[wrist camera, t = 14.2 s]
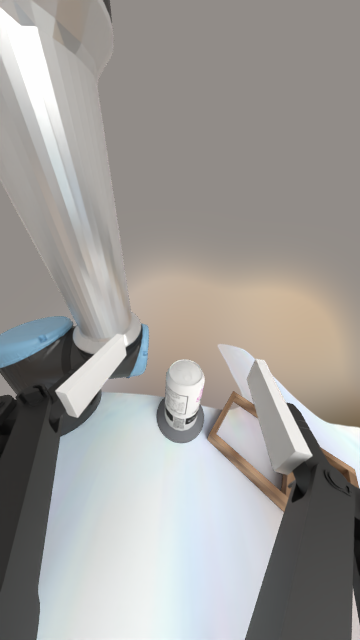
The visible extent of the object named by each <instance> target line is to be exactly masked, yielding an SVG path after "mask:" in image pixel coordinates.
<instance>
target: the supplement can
mask: <svg viewBox="0 0 360 640" xmlns="http://www.w3.org/2000/svg"><path fill="white" fill-rule="evenodd" d="M204 382H205V378H204V374H203V372H202V369H201V367H200V366H199V365H198V364H197V363H195V362H193V361H191V360H186V359H184V360H178V361H176V362H174V363H173V364H172V365H171V367H170V368H169V369H168V372H167V373H166V393H165V394H166V395H165V418H166V421H167V422H168V424H169V425H170V426H171V427H172V428H174V429H175V430H179V431H184V430H188V429H189V428H191V427H192V426H193V425H194V423H195V422H196V419H197V414H198V409H199V405H200V400H201V396H202V391H203V386H204Z"/></svg>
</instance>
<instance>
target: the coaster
mask: <svg viewBox="0 0 360 640" xmlns="http://www.w3.org/2000/svg"><path fill="white" fill-rule="evenodd" d="M157 422H158V426H159V428H160V430H161V432H162V433H163V435H164V436H165V437H166V438H168V439H169V440H171V441H173V442H176V443H186V442H189V441H191V440H193V439H195V438H196V437H197V436H198V435H199V433H200V432H201V430H202V427H203V423H204V413H203V409H202V407H201V405H199V409H198V414H197V419H196V422H195V423H194V425H193V426H192V427H191V428H189V429H188V430H184V431H179V430H175V429H174V428H172V427H171V426H170V425H169V424H168V422H167V421H166V418H165V398H164V399H163V400H162V401H161V403H160V405H159V407H158V411H157Z"/></svg>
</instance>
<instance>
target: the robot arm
mask: <svg viewBox="0 0 360 640" xmlns="http://www.w3.org/2000/svg"><path fill="white" fill-rule="evenodd" d="M113 45H114V38H113V30H112V19H111V9H110V0H0V181H1V183H2V185H3V187H4V189H5V191H6V192H7V194H8V196H9V198H10V200H11V202H12V204H13V205H14V207H15V209H16V211H17V213H18V215H19V217H20V219H21V221H22V222H23V224H24V226H25V228H26V230H27V232H28V233H29V235H30V237H31V239H32V241H33V243H34V245H35V247H36V249H37V250H38V252H39V254H40V256H41V258H42V259H43V262H44V263H45V265H46V267H47V269H48V271H49V273H50V275H51V276H52V278H53V280H54V282H55V284H56V286H57V288H58V290H59V291H60V293H61V295H62V297H63V299H64V301H65V303H66V305H67V307H68V308H69V310H70V312H71V314H72V315H73V318H74V320H75V321H76V323H77V326H73V322H72V321H71V320H70V319H69V318H67V317H63V316H54V317H47V318H43V319H38V320H34V321H31V322H27V323H24V324H21V325H19V326H16V327H14V328H12V329H10V330H7V331H6V332H4V333H2V334H0V373H1V375H2V376H3V377H4V378H5V380H6V381H7V382H8V384H9V385H10V386H11V388H12V389H13V390H14V391H15V393H16V394H17V396H16V400H14V398H13V397H12V396H10V395H4V396H0V640H36V639H37V632H38V624H39V614H40V602H39V596H38V583H39V576H40V569H41V563H42V556H43V549H44V542H45V535H46V529H47V522H48V515H49V508H50V502H51V495H52V488H53V481H54V475H55V468H56V461H57V454H58V447H59V441H60V436H62V435H64V434H67V433H69V432H70V431H72V430H74V429H75V428H77V427H78V426H80V425H81V424H82V423H83V422H85V421H86V420H87V419H88V418H89V417H90V416H91V414H92V413H93V412H94V411H95V409H96V408H97V406H98V404H99V402H100V399H101V387H102V386H103V385H104V383H105V382H106V381H107V380H108V379H113V378H123V377H126V378H130V377H132V376H137V375H141V374H143V373H144V371H145V369H146V365H147V356H148V353H147V352H148V344H149V343H148V342H149V330H148V326H147V325H145V324H141V322H140V319H139V318H138V317H137V316H136V314H134V313H133V312H131V308H130V301H129V295H128V289H127V282H126V275H125V268H124V261H123V255H122V248H121V241H120V235H119V228H118V222H117V215H116V209H115V201H114V195H113V188H112V183H111V175H110V168H109V162H108V155H107V148H106V142H105V135H104V128H103V122H102V115H101V109H100V102H99V95H98V89H97V85H98V80H99V76H100V74H101V73H102V71H103V69H104V68H105V66H106V64H107V62H108V61H109V59H110V58H111V56H112V54H113ZM247 382H248V385H249V389H250V392H251V396H252V399H253V402H254V406H255V409H256V413H257V416H258V419H259V423H260V426H261V430H262V433H263V437H264V440H265V443H266V447H267V450H268V454H269V457H270V460H271V464H272V467H273V471H274V472H278V473H282V474H285V475H288V474H290V473H291V472H293V474H294V477H295V480H294V481H292V482H291V483H290V484H289V485H288V486H287V487H288V488H289V489H290V488H291V487H292V488H291V492H290V495H289V498H288V501H287V505H286V508H285V511H284V514H283V518H282V521H281V524H280V527H279V531H278V534H277V537H276V540H275V544H274V547H273V550H272V553H271V556H270V560H269V563H268V566H267V569H266V573H265V576H264V579H263V582H262V586H261V589H260V592H259V595H258V599H257V602H256V605H255V608H254V612H253V615H252V618H251V621H250V625H249V628H248V631H247V634H246V638H245V640H351V634H352V595H353V589H354V595H355V601H356V606H357V612H358V617H359V623H360V489H359V488H358V487H356V486H354V485H352V484H351V483H349V482H348V481H347V480H346V478H345V477H344V476H343V475H342V474H341V473H340V472H339V471H338V470H337V469H336V468H334V467H333V466H331V465H330V463H329V462H328V460H327V458H326V457H325V455H324V453H323V451H322V450H321V448H320V446H319V444H318V443H317V441H316V439H315V437H314V435H313V434H312V432H311V430H310V428H309V427H308V425H307V423H306V422H305V419H304V418H303V416H302V414H301V412H300V411H299V410H298V409H297V408H296V407H295V406H294V405H293V404H290V403H286V402H285V400H284V398H283V396H282V394H281V392H280V390H279V388H278V386H277V384H276V382H275V380H274V378H273V376H272V374H271V372H270V370H269V368H268V366H267V364H266V362H265V361H264V360H260V359H255V362H254V364H253V366H252V368H251V370H250V373H249V375H248V377H247Z"/></svg>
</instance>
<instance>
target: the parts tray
mask: <svg viewBox="0 0 360 640" xmlns="http://www.w3.org/2000/svg"><path fill="white" fill-rule="evenodd" d="M233 402H235V403H236V404H238V405H239V406H241V407H242V408H244V409H245V410H247V411H248V412H249V413H251V414H252V415H254V416H255V417H257V418H258V416H257V413H256V409H255V406H254V404H252V403H251V402H249V401H248V400H246V399H245V398H243V397H242V396H240V395H238V394H237V393H235V392H234V391H233V393H232V394H231V396H230V398H229V400H228V402H227V403H226V405H225V407H224V409H223V410H222V412H221V414H220V416H219V417H218V419H217V421H216V423H215V425H214V426H213V428H212V430H211V432H210V433H209V436H208V439H207V440H208V441H209V442H211V443H212V444H213V445H214V446H215V447H216V448H217V449H218V450H219V451H220V452H221V453H222V454H223V455H224V456H225V457H226V458H227V459H228V460H230V461H231V462H232V463H233V464H234V465H235V466H236V467H237V468H238V469H239V470H240V471H241V472H242V473H243V474H244V475H245V476H246V477H247V478H249V479H250V480H251V481H252V482H253V483H254V484H255V485H256V486H257V487H258V488H259V489H260V490H261V491H262V492H263V493H264V494H265V495H267V496H268V497H269V498H270V499H271V500H272V501H273V502H274V503H275V504H276V505H277V506H278V507H279V508H280V509H281V510H282V511H283V512H284V511H285V508H286V505H287V501H288V498H289V495H290V492H291V488H292V487H291V488H290V489H289V488H288V487H287V486H288V485H289V484H290V483H291V482H292V481H294V480H295V477H294V474H293V472H291V473H290V474H288V475H285V474H283V478H282V487H281V491H280V490H279V489H278V488H277V487H275V486H274V485H273V484H272V483H271V482H270V481H269V480H268V479H266V478H265V477H264V476H263V475H262V474H261V473H260V472H259V471H257V470H256V469H255V468H254V467H253V466H252V465H251V464H249V463H248V462H247V461H246V460H245V459H244V458H243V457H242V456H240V455H239V454H238V453H237V452H236V451H235V450H234V449H233V448H231V447H230V446H229V445H228V444H227V443H226V442H225V441H223V440H222V439H221V438H220V437H219V436H218V435H217V434H216V433H217V431H218V430H219V428H220V426H221V424H222V422H223V420H224V418H225V416H226V414H227V412H228V410H229V409H230V407H231V405H232V403H233ZM320 448H321V447H320ZM321 450H322V451H323V453H324V455H325V457H326V458H327V460H328V462H329V463H330V465H331V466H333V467H334V468H336V469H337V470H338V471H339V472H340V473H341V474H342V475H343V476H344V477H345V478H346V480H347V481H348V482H349V483H351V484H352V485H354V486H356V487H358V488H359V486H358V481H357V477H356V473H355V469H353V468H352V467H350V466H349V465H347V464H346V463H344V462H342V461H341V460H339V459H338V458H336V457H335V456H333V455H332V454H330V453H328V452H327V451H325V450H324V449H322V448H321Z"/></svg>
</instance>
